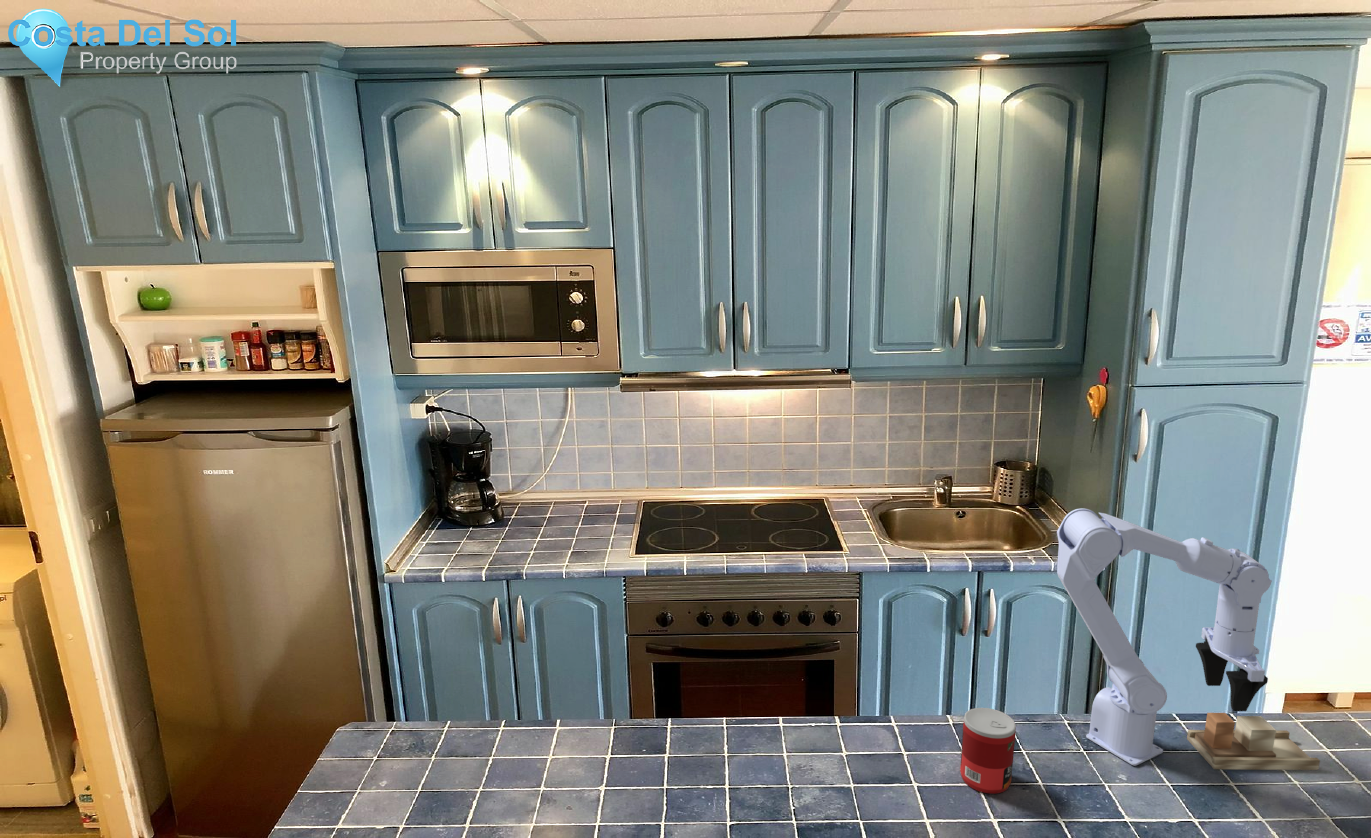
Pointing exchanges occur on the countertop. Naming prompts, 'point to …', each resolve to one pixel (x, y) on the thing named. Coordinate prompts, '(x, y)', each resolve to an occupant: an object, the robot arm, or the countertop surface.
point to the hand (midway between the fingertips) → (1225, 697)
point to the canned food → (987, 750)
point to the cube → (1255, 733)
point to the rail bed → (1285, 758)
